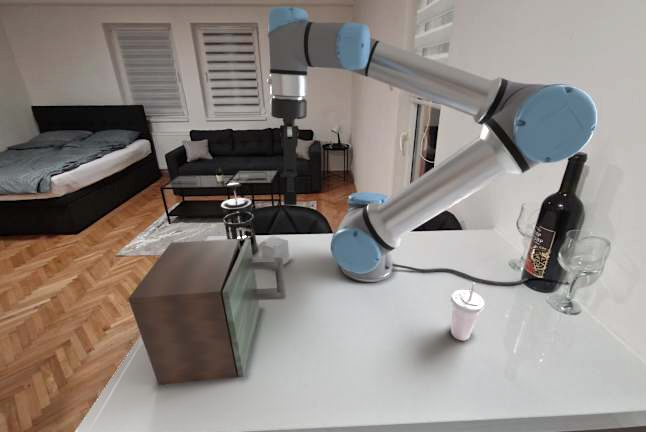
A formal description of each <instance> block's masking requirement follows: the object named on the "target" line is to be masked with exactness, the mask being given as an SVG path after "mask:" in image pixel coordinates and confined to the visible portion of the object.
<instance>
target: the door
mask: <svg viewBox="0 0 646 432" xmlns="http://www.w3.org/2000/svg"><path fill="white" fill-rule="evenodd" d="M241 248H242V249H241V251H240V253H239V255H238V258H237V260H236V262H235V264H234V267H233V269H232V271H231V273H230V276H229V278H228V280H227V282H226V285H225V287H224V289H223V291H222V294H223V299H224V304H225V309H226V315H227V320H228V325H229V330H230V335H231V340H232V346H233V351H234V356H235V361H236V366H237V372H238V374H237V377H244V376H245V372H246V369H247V364H248V360H249V356H250V352H251V347H252V343H253V340H254V335H255V332H256V328H257V323H258V320H259V314H260V311H261V308H260V301H268V300H269V301H270V300H284V299H286V297H287V293H286V283H285V281H286V280H285V271H284V265H283V259H282V258H281V257H274V258H262V257H254V255H252V248H251V240H250V239H246V240H245V242H244V244H243V245H241ZM255 270H274V271H275V282H276V283H275V284H276V287H272V288H269V287H268V288H258V286H257V277H256V271H255Z"/></svg>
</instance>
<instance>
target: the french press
mask: <svg viewBox="0 0 646 432" xmlns="http://www.w3.org/2000/svg"><path fill="white" fill-rule="evenodd" d="M241 186H242V183H240V182H231V183H228V184H226V188H229V189H232V191H233V193H234V198H230V199H227V200H224V201H223V202H222V203H221V204H220V207H221V208H222V209H223V213H226V212H227V211H236V212H233V213H230V214H227V215H225V217H223V219H222V220H223V225H224V227H225V234H226V240H228V239H239V241H240V248H241V249H242V246H243V244H244V242H245V240H246V239H250V240H251V248H252V255H253V256H254V255H255V254H256V253H258V251H259V246H258V244H257V238H256V229H255V223H254V221H255V219H254V218H255V217H254V215H253V213H251V212H250V211H251V210H252V209H251V207H252V206H251V205H252V203H253V202H252V200H251V199H249V198H246V197H237V193H236V191H237V188H240V187H241ZM236 217H237V220H238V223H237V222H236V223H230V222H228V220H230V219H233V218H236ZM240 217H241V219H242V222H241V221H240Z"/></svg>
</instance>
